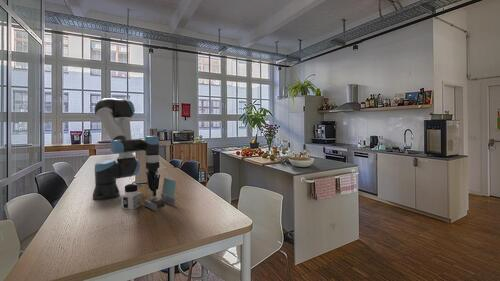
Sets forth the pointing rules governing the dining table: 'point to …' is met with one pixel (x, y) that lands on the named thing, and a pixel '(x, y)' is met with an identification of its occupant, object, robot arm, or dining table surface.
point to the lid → (169, 188)
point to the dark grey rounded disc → (157, 201)
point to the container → (131, 197)
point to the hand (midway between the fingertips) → (153, 200)
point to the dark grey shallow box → (154, 206)
